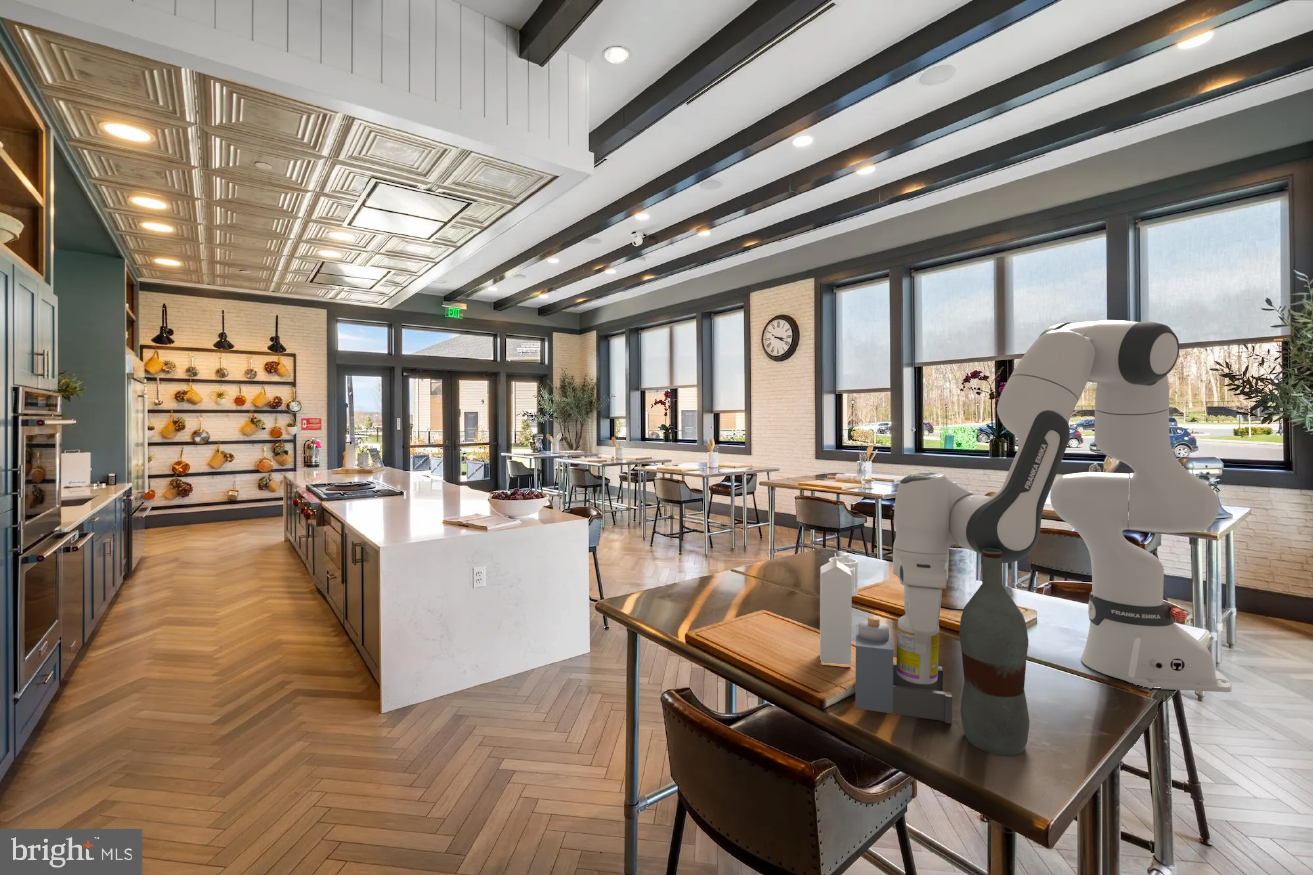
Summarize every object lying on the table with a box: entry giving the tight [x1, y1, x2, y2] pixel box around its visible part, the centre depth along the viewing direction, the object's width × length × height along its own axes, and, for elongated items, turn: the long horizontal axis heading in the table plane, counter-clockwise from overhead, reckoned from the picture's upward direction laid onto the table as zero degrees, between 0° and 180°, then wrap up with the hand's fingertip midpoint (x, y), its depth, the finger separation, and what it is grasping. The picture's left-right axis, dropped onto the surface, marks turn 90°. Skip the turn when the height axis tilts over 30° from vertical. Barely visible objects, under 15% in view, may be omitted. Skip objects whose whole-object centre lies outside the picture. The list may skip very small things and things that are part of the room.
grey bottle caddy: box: [855, 616, 953, 725], centre depth 106 cm, size 15×15×14 cm
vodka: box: [958, 548, 1030, 757], centre depth 91 cm, size 9×9×30 cm
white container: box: [828, 553, 859, 597], centre depth 151 cm, size 7×7×15 cm
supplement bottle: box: [895, 601, 940, 684], centre depth 103 cm, size 7×7×13 cm
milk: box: [819, 552, 853, 665], centre depth 122 cm, size 6×6×22 cm
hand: (918, 645), depth 103 cm, fingers closed on supplement bottle, 7 cm apart
